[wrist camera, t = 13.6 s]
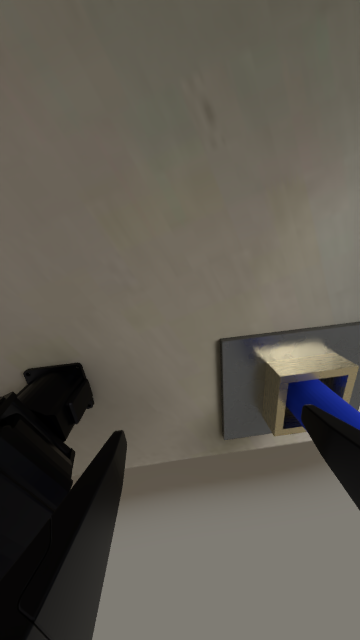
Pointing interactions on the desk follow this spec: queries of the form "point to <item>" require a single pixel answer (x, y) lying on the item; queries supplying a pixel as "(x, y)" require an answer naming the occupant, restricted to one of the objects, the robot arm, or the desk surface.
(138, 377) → the desk surface
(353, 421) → the beverage can
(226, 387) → the plate
